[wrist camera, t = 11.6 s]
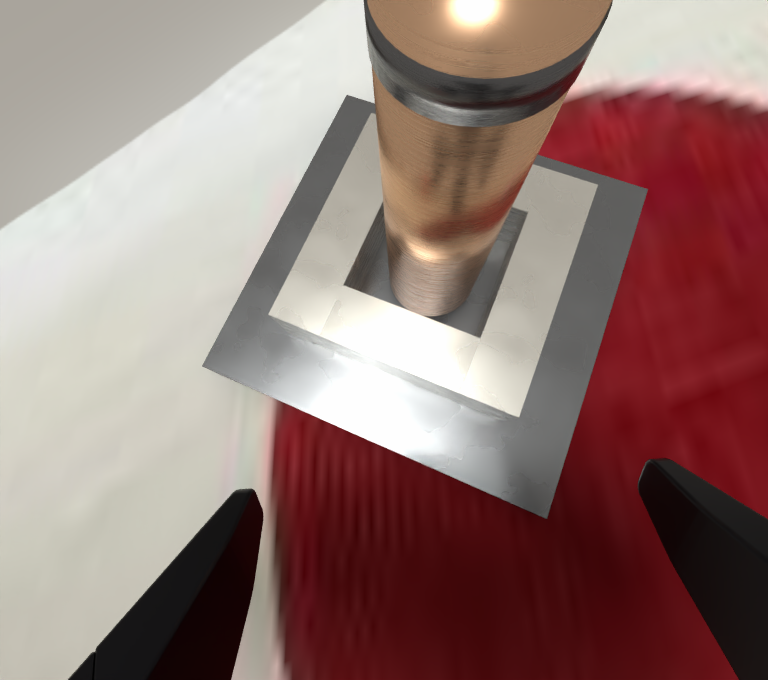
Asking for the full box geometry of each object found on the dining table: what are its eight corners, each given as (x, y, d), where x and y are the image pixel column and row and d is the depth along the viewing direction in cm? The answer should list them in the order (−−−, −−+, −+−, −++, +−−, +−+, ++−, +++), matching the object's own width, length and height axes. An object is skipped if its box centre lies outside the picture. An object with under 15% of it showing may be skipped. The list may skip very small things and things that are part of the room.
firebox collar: (636, 200, 22) (688, 149, 18) (538, 514, 18) (576, 536, 14) (348, 108, 24) (338, 46, 20) (211, 369, 20) (166, 354, 17)
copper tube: (492, 286, 20) (690, -37, 6) (421, 333, 19) (464, 99, 6) (441, 222, 21) (514, -177, 7) (372, 266, 20) (311, -69, 7)
